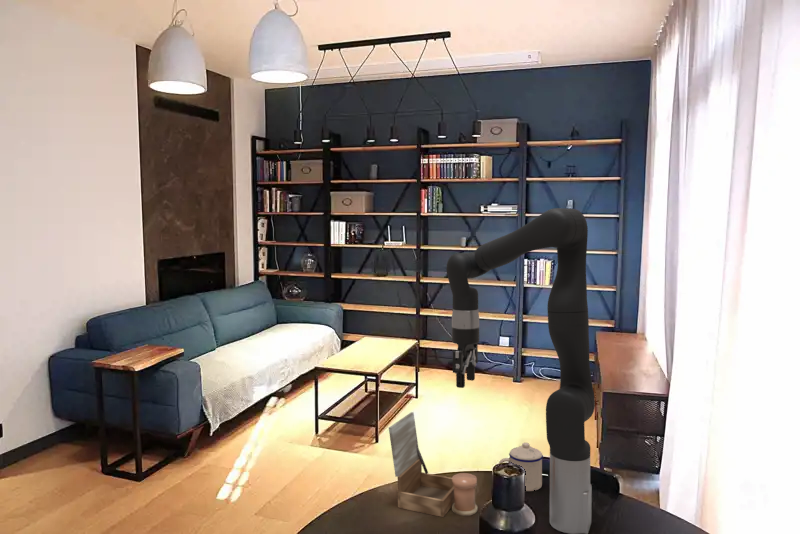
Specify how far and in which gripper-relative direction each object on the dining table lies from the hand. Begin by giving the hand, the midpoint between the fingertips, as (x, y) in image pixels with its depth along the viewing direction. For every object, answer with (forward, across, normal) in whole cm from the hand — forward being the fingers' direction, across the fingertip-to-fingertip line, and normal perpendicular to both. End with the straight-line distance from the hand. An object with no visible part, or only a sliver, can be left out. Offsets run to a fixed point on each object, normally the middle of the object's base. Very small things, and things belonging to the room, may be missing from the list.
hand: (465, 383), depth 161 cm
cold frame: (+28, -14, +6) cm, 32 cm away
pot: (+27, -15, -5) cm, 31 cm away
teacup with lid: (+28, +5, -14) cm, 32 cm away
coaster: (+28, -15, -5) cm, 32 cm away
